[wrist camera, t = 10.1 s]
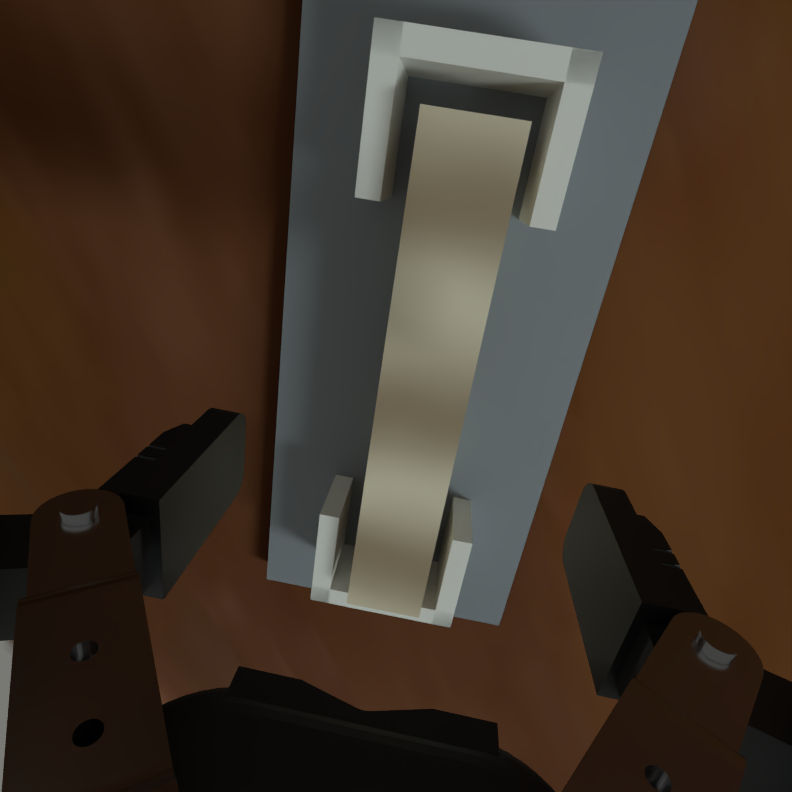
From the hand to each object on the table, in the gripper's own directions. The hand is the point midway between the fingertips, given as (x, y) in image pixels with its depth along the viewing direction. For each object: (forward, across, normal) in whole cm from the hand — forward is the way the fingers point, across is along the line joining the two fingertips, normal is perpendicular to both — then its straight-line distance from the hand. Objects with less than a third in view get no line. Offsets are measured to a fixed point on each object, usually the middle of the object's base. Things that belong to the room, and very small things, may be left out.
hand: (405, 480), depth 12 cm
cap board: (+10, 0, 0) cm, 10 cm away
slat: (+9, 0, +1) cm, 9 cm away
